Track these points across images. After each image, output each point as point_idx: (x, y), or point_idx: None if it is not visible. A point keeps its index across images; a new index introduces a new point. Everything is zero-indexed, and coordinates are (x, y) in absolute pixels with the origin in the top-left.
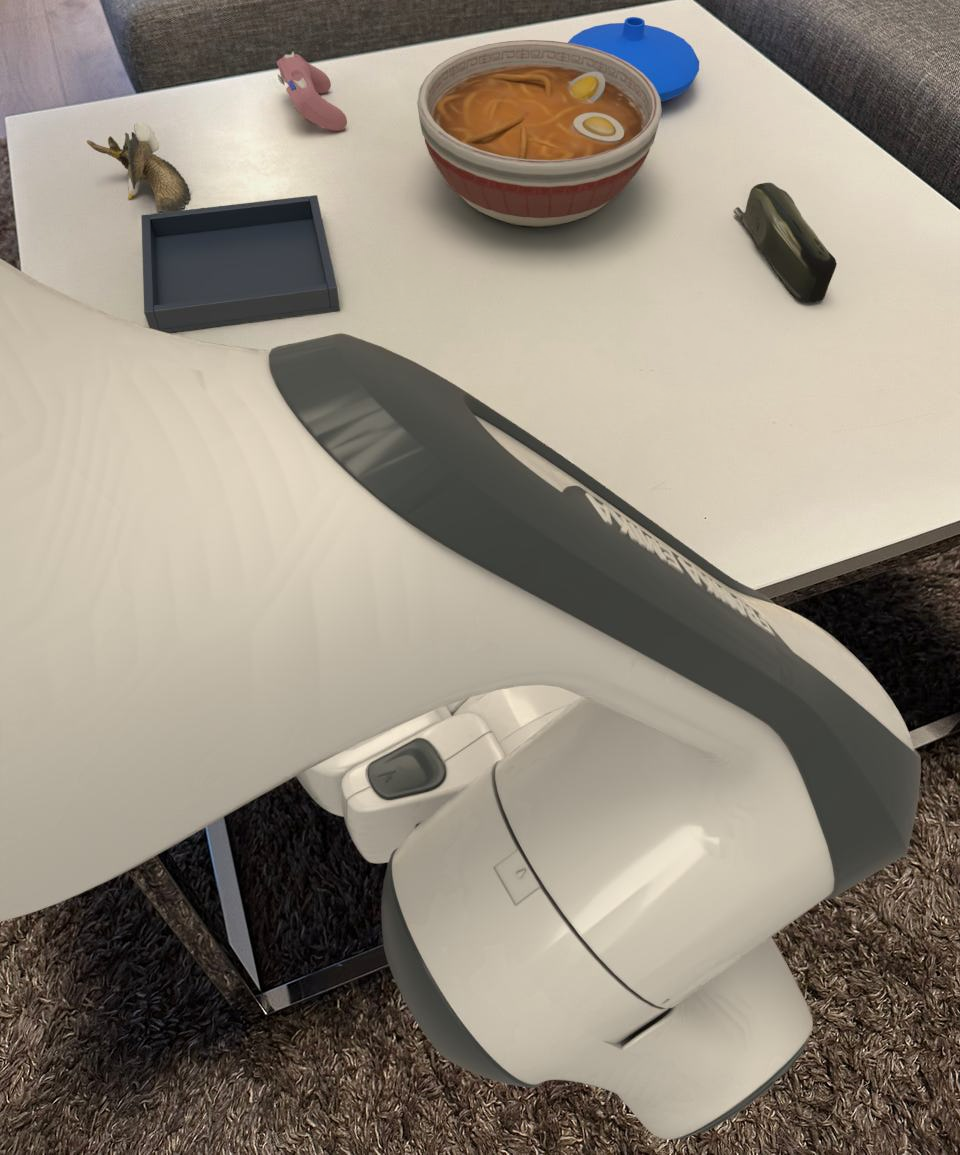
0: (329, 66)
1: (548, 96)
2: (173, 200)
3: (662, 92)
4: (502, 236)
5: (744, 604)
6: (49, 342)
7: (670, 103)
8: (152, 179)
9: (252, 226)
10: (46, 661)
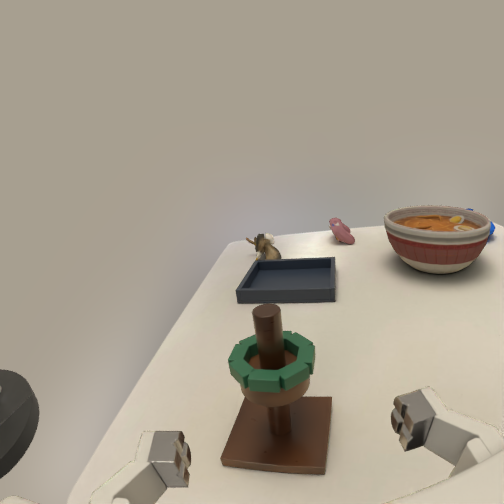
0: (351, 229)
1: (441, 221)
2: (272, 259)
3: None
4: (422, 277)
5: None
6: None
7: None
8: (266, 251)
9: (302, 269)
10: None
